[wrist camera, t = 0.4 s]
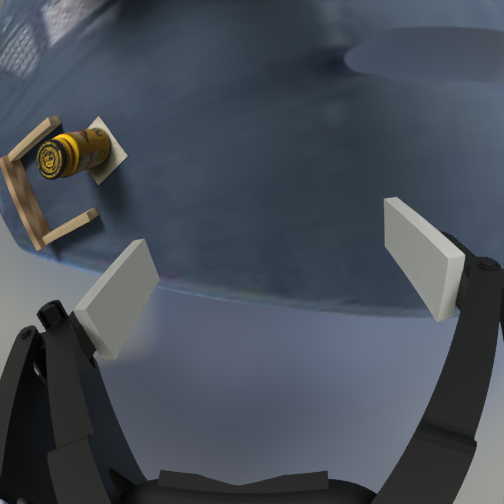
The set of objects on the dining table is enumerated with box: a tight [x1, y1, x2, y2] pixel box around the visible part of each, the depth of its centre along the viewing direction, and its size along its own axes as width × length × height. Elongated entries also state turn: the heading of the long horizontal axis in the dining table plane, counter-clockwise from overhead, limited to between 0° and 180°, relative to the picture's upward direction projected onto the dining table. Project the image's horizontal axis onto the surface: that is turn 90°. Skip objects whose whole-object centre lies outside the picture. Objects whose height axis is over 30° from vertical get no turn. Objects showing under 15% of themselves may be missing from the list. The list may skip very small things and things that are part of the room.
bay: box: [0, 116, 99, 251], centre depth 39 cm, size 19×14×4 cm
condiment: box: [37, 116, 128, 185], centre depth 34 cm, size 7×8×12 cm
